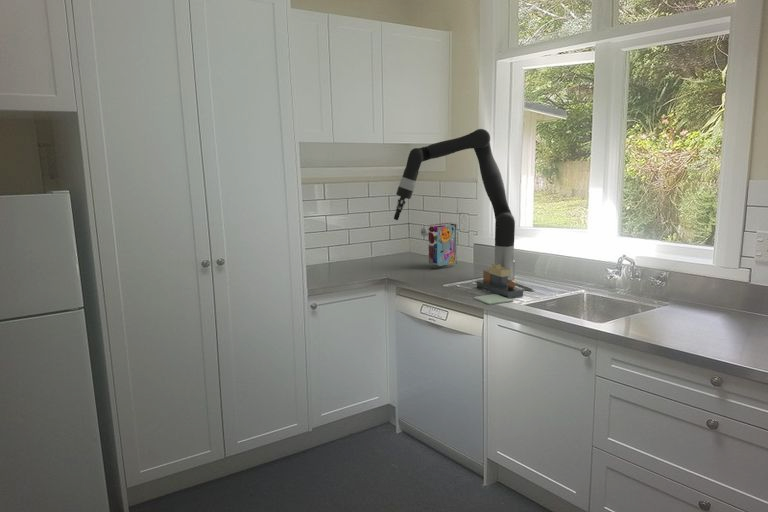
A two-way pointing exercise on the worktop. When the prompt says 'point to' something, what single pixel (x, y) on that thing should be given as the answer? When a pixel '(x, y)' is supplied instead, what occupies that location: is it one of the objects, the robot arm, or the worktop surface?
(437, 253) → the box
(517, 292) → the hand plane
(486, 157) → the robot arm
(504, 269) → the lever cap
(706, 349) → the worktop surface
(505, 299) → the mat
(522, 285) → the caliper
